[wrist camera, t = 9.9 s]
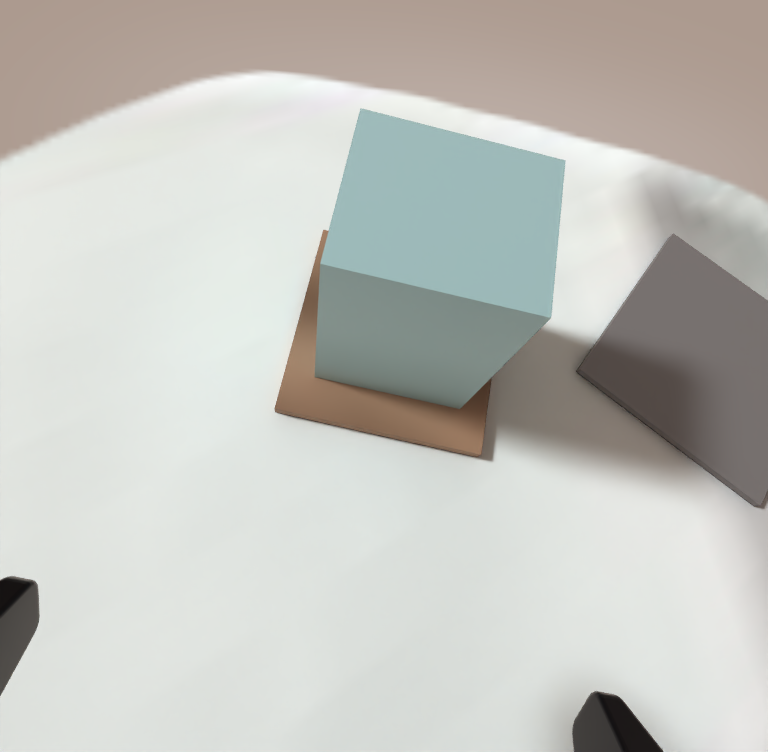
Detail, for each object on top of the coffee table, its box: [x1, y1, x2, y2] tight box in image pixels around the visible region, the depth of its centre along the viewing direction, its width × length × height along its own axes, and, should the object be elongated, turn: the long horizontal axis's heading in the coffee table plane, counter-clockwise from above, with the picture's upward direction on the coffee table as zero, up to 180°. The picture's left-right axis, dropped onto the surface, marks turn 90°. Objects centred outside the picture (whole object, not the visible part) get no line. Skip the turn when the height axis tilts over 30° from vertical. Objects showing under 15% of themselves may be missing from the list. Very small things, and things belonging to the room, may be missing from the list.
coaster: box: [275, 230, 492, 457], centre depth 25 cm, size 9×9×1 cm
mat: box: [576, 234, 768, 506], centre depth 27 cm, size 10×10×1 cm
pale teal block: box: [314, 109, 565, 409], centre depth 21 cm, size 6×6×10 cm
